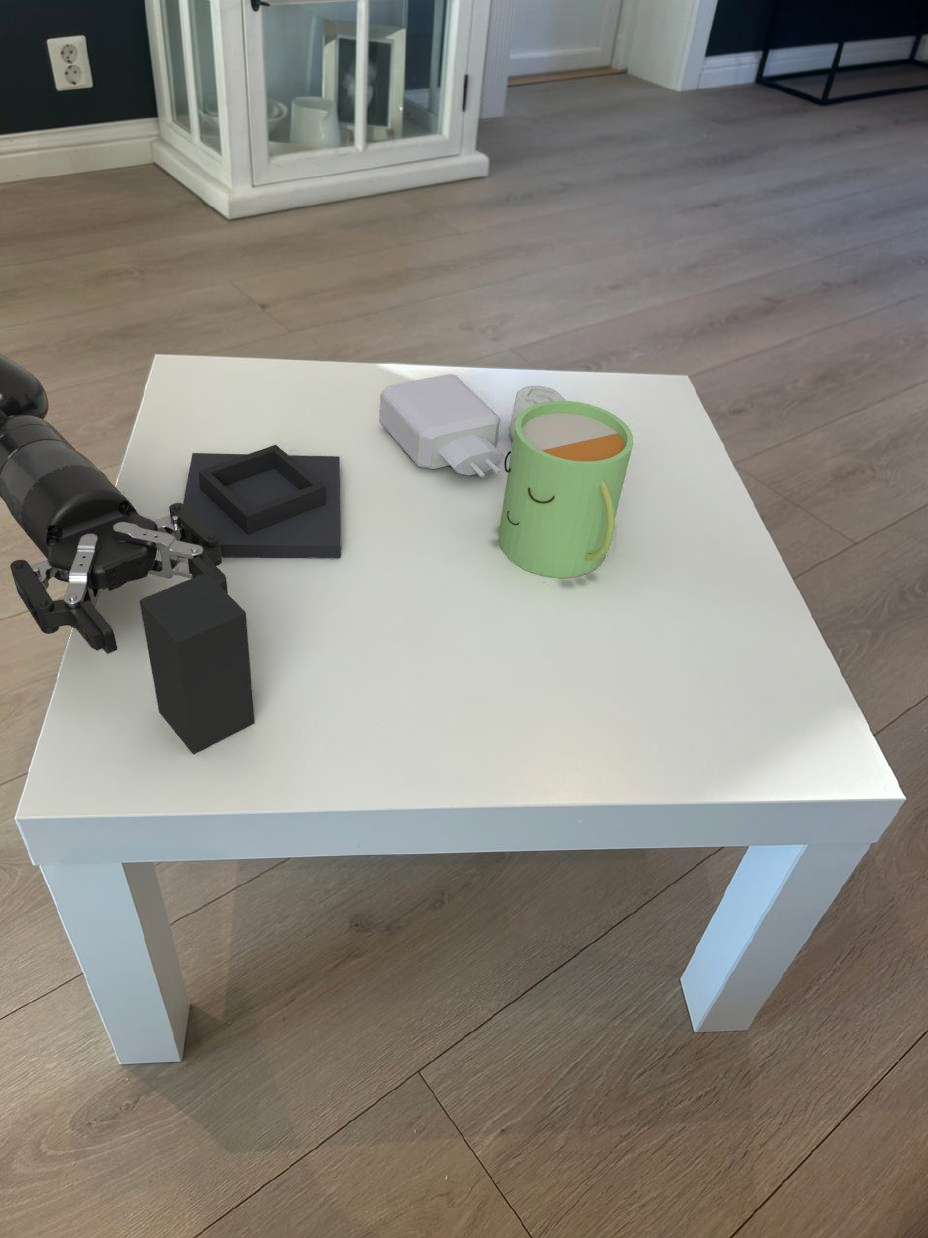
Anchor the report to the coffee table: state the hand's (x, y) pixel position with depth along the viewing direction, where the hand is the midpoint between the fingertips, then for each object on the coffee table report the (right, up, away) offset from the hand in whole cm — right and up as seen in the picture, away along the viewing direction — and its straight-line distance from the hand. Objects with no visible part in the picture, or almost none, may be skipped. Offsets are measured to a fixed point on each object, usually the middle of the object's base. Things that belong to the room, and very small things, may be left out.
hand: (167, 619), depth 68 cm
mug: (+30, +6, +21) cm, 37 cm away
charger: (+20, +17, +31) cm, 40 cm away
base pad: (+2, +10, +21) cm, 23 cm away
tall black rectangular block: (+2, -7, +2) cm, 8 cm away
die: (+28, +19, +35) cm, 49 cm away
